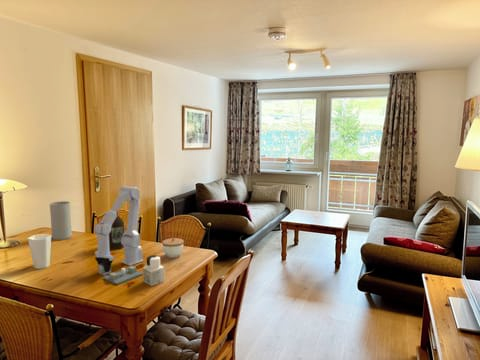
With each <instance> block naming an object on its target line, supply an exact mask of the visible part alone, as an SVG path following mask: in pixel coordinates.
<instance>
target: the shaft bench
mask: <svg viewBox="0 0 480 360" xmlns="http://www.w3.org/2000/svg"><path fill="white" fill-rule="evenodd" d="M137 269H138V268H137V266H133V265H129V266H128V267H127V268H126V267H122V268H120V270H119V271H117V272H116V271H115V272H114V271H113V272H111V273H109V275H108V274H107V275H104V276H103V277H102V278H103V280H105V281H108V282H110V283H112V284H114V285H117V286H118V285H121V284H124V283H127V282H128V281H131V280H134V279H136V278H139V277H142V276H143V272H141V271H139V270H137Z"/></svg>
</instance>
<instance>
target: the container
mask: <svg viewBox="0 0 480 360" xmlns="http://www.w3.org/2000/svg"><path fill="white" fill-rule="evenodd" d="M142 273H143V275H142V276H143V277H142V278H143V280H142V281H143V282H144V283H146V284H147V285H149V286H151V287H152V286H153V287H154V286H155V285H159V284H161V283H164V282H165V280H166V278H165V266H163V265H161V256H159V255H157V254H155V255H149V256H147V257H146V265H144V266H143V267H142Z"/></svg>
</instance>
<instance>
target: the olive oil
mask: <svg viewBox="0 0 480 360" xmlns="http://www.w3.org/2000/svg"><path fill="white" fill-rule="evenodd" d="M118 212H119V211H118ZM118 212H117V217H116V219H115V220H114V222H113V224H112V227H111V232H110V233H109V249H110V250H121V249H123V248H124V247H123V245H122V244H121V239H122V237H123V233H124V232H125V222H124V219H123V218H122V217H121V216H119V215H118Z"/></svg>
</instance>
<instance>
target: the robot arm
mask: <svg viewBox="0 0 480 360" xmlns="http://www.w3.org/2000/svg"><path fill="white" fill-rule="evenodd" d="M127 201H128V202H129V209H128V216H127V225H126V230H124V233H123V237H122V239H121V244H122V245H123V248H124V249H123V251H124V260H122V261H121V263H122V264H125V265H126V266H127V265H128V266H133V265H135V264H138V263H141V262H143V261H144V259H143V248H142V246H141V245H140V244H141V239H140V238H141V237H140V236H141V235H140V233H139V232H138V223H139V222H138V221H139V215H140V206H141V190H140V189H139V188H138V187H136V186H127V185H122V186H121V187H120V189H119V190H118V193H117V197H116V199H115V201H114V203H113V205H112V206H111V208H110V209H109V210H106V212H105V213H104V216H103V217H102V219H101V221H99V223H97V224H96V225H95V227H94V229H93V232H94V233H95V234H96V235H95V236H96V240H97V250H96V251H94V255H95V257H94V259H95V261H96V263H97V265H98V264H101V263H103V264H104V268H105V272H109V271H110V267H111V268H112V263H113V261H114V260H115V258H114V255H112V254H111V252H110V250H111V249H109V233H110V232H111V227H112V224H113V222H114V220H115V219H116V217H117V212H119V211H120V209H121V208H122V206H123V204H124V203H125V202H127Z"/></svg>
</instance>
